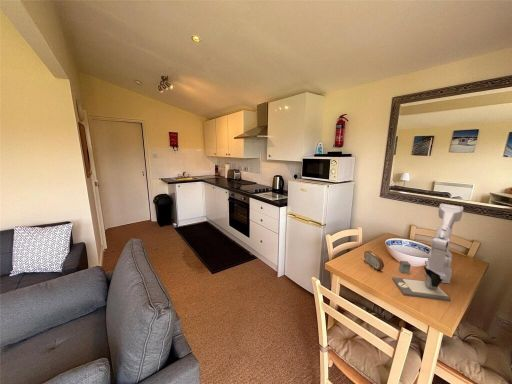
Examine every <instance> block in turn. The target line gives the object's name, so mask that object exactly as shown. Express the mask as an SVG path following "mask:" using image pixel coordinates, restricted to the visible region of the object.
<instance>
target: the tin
mask: <svg viewBox="0 0 512 384" xmlns="http://www.w3.org/2000/svg"><path fill="white" fill-rule="evenodd" d="M363 257H364V260H365V262H366V263H367V264H368V265H369V266H370V267H372V268H373V269H374V270H376V271H381V270H384V267H385V264H384V261H383V259H382V257H381V256H380V255H378V254H376V253H375V252H374V251H371V250H367V251H364V255H363Z"/></svg>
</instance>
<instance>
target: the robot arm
mask: <svg viewBox="0 0 512 384" xmlns="http://www.w3.org/2000/svg"><path fill="white" fill-rule="evenodd" d="M437 211H438V218H439V219H441V220H442V221H441V225H440V226H438V227H437V229H436V232H435V235H434V237H433V238H432V240H431V244H430V246H431V248H430V250H429V252H428V257H427V260H424V265H425V266H424V267H423V269H424V271H425V272H424V275H425V276H426V275H427V274H431V276H432V286H433V287H439V285H440V284H441V283H444V284H451V277H452V274H453V269H452V267H451V265H452V259H453V254H452V252H451V251H450V250H449V248H450V241H451V235H452V232H453V231H452V230H453V226H454V224H455V223H456V222H460V221H461V219H462V216H463V213H464V206H460V205H453V204H448V203H447V204H446V203H440V204H439V208H438V210H437Z"/></svg>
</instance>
